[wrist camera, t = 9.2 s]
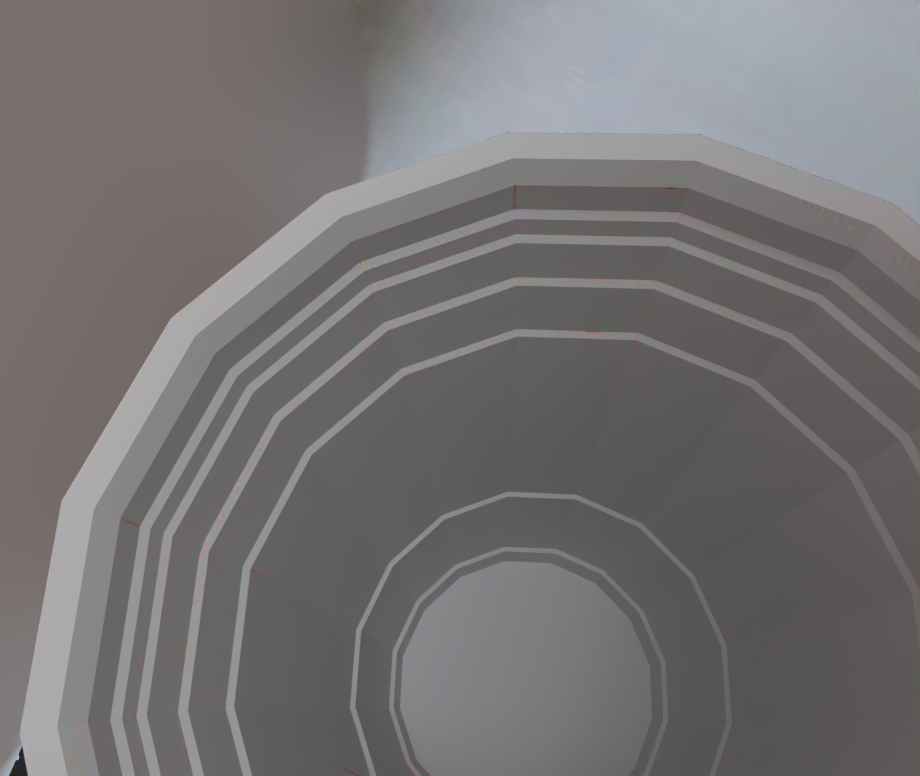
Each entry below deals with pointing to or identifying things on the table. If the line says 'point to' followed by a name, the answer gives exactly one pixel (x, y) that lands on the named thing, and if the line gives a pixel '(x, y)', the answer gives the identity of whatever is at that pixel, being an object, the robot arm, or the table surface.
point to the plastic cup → (512, 486)
